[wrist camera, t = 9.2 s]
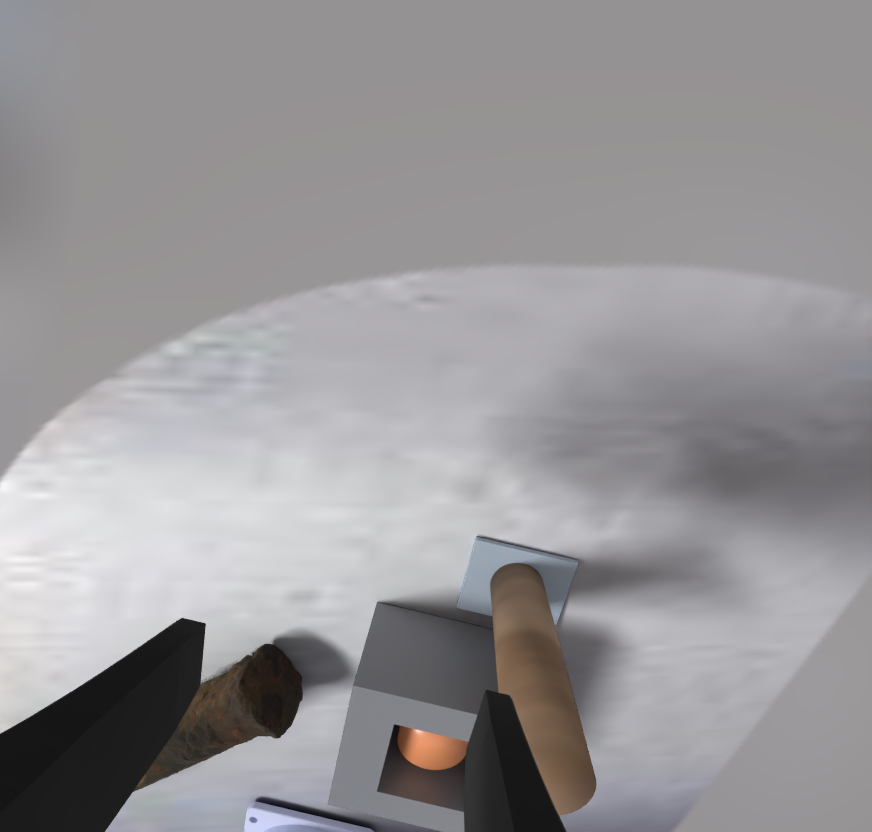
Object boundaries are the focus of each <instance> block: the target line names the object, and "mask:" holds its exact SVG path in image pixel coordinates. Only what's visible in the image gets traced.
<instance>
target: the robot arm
mask: <svg viewBox="0 0 872 832" xmlns="http://www.w3.org/2000/svg"><path fill="white" fill-rule="evenodd" d="M205 625H206V623H201V622H197V621H193V620H189V619H184V618H181V619H180V620H178V621H176V622H175V623H173V624H172V625H170V626H169V627H167V628H166V629H165V630H163V631H162V632H160V633H159V634H157V635H156V636H154V637H153V638H152V639H150V640H149V641H147V642H146V643H144V644H143V645H141V646H140V647H138V648H137V649H136V650H134V651H133V652H131V653H130V654H128V655H127V656H125V657H124V658H122V659H121V660H119V661H118V662H116V663H115V664H113V665H112V666H110V667H109V668H107V669H106V670H104V671H103V672H101V673H100V674H98V675H97V676H95V677H93V678H92V679H90V680H89V681H87V682H86V683H84V684H83V685H81V686H80V687H78V688H76V689H75V690H73V691H72V692H70V693H68V694H67V695H65V696H63V697H62V698H60V699H58V700H57V701H55V702H54V703H52V704H50V705H49V706H47V707H45V708H44V709H42V710H40V711H39V712H37V713H36V714H34V715H32V716H31V717H29V718H27V719H25V720H24V721H22V722H20V723H18V724H17V725H15V726H13V727H12V728H10V729H8V730H6V731H4V732H3V733H1V734H0V832H105V831H106V829H107V828H108V826H109V825H110V823H111V822H112V821H113V819H114V818H115V816H116V815H117V814H118V812H119V811H120V809H121V808H122V806H123V805H124V804H125V802H126V801H127V799H128V798H129V796H130V795H131V794H132V792H133V791H134V789H135V788H136V786H137V785H138V784H139V782H140V781H141V779H142V778H143V776H144V775H145V774H146V772H147V771H148V769H149V768H150V766H151V765H152V764H153V762H154V761H155V759H156V758H157V756H158V755H159V754H160V752H161V751H162V749H163V748H164V746H165V745H166V743H167V742H168V740H169V739H170V738H171V736H172V735H173V733H174V732H175V730H176V728H177V726H178V725H179V723H180V721H181V720H182V718H183V716H184V714H185V713H186V711H187V709H188V707H189V705H190V704H191V702H192V700H193V698H194V696H195V695H196V693H197V691H198V689H199V687H200V681H201V670H202V659H203V648H204V637H205ZM244 832H374V831H373V830H372V829H370V828H366V827H361V826H357V825H353V824H349V823H345V822H340V821H336V820H332V819H328V818H324V817H319V816H315V815H311V814H307V813H302V812H298V811H294V810H290V809H286V808H281V807H277V806H273V805H269V804H265V803H260V802H252V803H251V804H250V805H249V807H248V810H247V813H246V820H245V827H244ZM464 832H566V830H565V828H564V826H563V823H562V821H561V819H560V817H559V815H558V813H557V810H556V808H555V806H554V804H553V802H552V799H551V797H550V795H549V792H548V790H547V788H546V785H545V783H544V781H543V778H542V776H541V774H540V772H539V769H538V767H537V764H536V762H535V759H534V757H533V754H532V752H531V749H530V747H529V744H528V741H527V739H526V736H525V734H524V731H523V728H522V726H521V723H520V720H519V717H518V714H517V712H516V709H515V706H514V703H513V700H512V698H511V697H510V695H507V694H503V693H498V692H494V691H490V690H485V693H484V696H483V699H482V702H481V705H480V709H479V712H478V715H477V718H476V721H475V724H474V727H473V730H472V733H471V736H470V739H469V742H468V745H467V749H466V762H465V779H464Z"/></svg>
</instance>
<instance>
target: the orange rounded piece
mask: <svg viewBox="0 0 872 832" xmlns="http://www.w3.org/2000/svg"><path fill="white" fill-rule="evenodd" d="M467 745H468V742H467V741H463V740H459V739H455V738H450V737H446V736H442V735H438V734H433V733H429V732H425V731H421V730H416V729H412V728H408V727H404V726H400V727H399V733H398V747H399V750H400V752H401V753H402V755H403V756H404V757H405V758H406V759H407V760H408V761H409V762H411V763H412V764H414V765H416V766H418V767H421V768H424V769H429V770H443V769H447V768H450V767H453V766H455V765H456V764H458V763H459V762H460V761H461V760H462V759H463V758H464V757H465V755H466V749H467Z"/></svg>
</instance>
